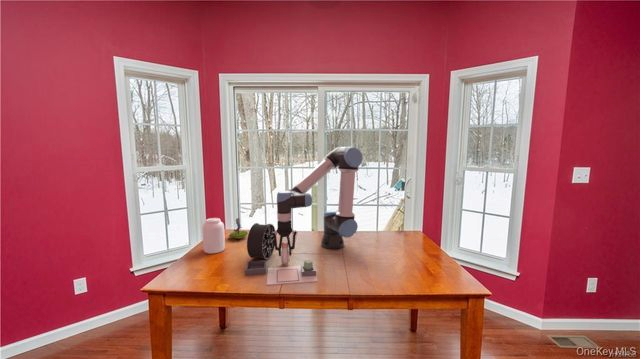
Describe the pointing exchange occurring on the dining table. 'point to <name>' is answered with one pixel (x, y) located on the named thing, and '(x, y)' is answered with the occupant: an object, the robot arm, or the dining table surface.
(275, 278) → the board
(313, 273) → the button housing
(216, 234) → the white jar
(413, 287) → the dining table surface
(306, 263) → the button cap
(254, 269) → the marker tray
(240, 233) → the figurine
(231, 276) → the dining table surface
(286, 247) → the marker
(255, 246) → the wheel rim
